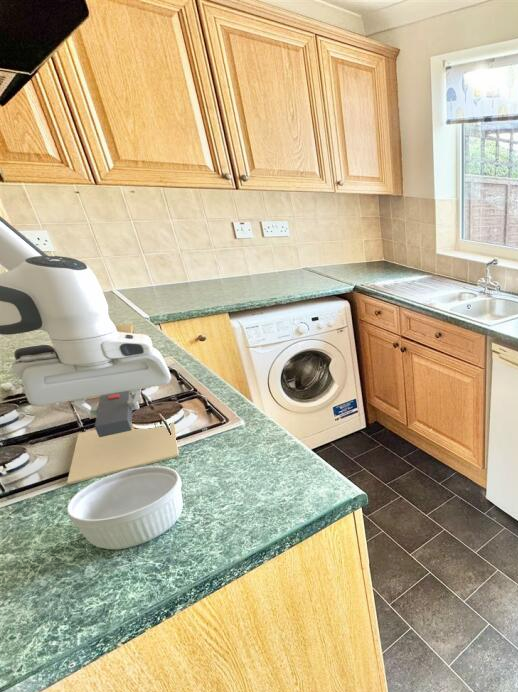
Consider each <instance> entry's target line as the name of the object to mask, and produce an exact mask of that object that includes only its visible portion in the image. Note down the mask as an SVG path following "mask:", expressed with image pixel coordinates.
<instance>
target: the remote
mask: <svg viewBox="0 0 518 692" xmlns="http://www.w3.org/2000/svg"><path fill="white" fill-rule="evenodd" d="M132 399H133V397H132V394H131V392H130V391H124V392H119V393H113V394H107V395H102V396H100V397H99V400H98V406H97V407H98V412H97V417H96V418H95V424H94V430H96V431H97V433H98V436H99V437H104V436H109V435H113V434H118V433H122V432H127V431H131V430H132V422H133V410H132V411H130V409H129V406H128V404H127V400H132Z"/></svg>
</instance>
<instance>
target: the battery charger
mask: <svg viewBox="0 0 518 692" xmlns="http://www.w3.org/2000/svg"><path fill="white" fill-rule="evenodd" d="M50 352H56V351H55V348H54V346H53V345H51V344H47V343H41V344H33V345H26V346H20V347H17V348H16V349H14V351H13V357H14V358H15V361H16V360H17V359H20V357H22V356H26V355H38V354H43V353H50ZM19 362H22V361H19Z"/></svg>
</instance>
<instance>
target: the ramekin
mask: <svg viewBox="0 0 518 692" xmlns="http://www.w3.org/2000/svg"><path fill="white" fill-rule="evenodd" d="M182 484H183V483H182V479H181V476H180V474H179V473H178V472H177V471H176V470H175V469H173V468H171V467H167V466H160V465H159V466H158V465H151V466H139V467H135V468H132V469H128V470H124V471H120V472H116V473H112V474H109V475H106V476H105V477H103V478H100V479H98V480H96V481H93V482H92V483H90V484H88V485H87V486H85V487H84V488H82V489H81V490H79V491H78V492H77V493H75V495H73V496H72V497H71V499H70V500H69V502H68V504H67V506H66V513H67V517H68V519H69V520H70V522H71V523H72V524H74V525H75V526H76V527H77V528H78V530H79V531H80V532H81V534H82V536H83V537H84V538H85V539H86V540H87V541H88V542H89V543H90V544H91V545H92V546H94V547H97V548H101V549H105V550H123V549H129V548H133V547H136V546H139V545H142V544H146V543H148V542H151V541H152V540H154V539H156V538H158V537H160V536H161V535H163V534H164V533H166V532H167V531H168V530H170V529H171V528H172V527H173V526H174V525H175V524H176V523H177V521H178V520H179V519H180V516H181V515H182V512H183V507H184V502H183V494H182Z"/></svg>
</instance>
